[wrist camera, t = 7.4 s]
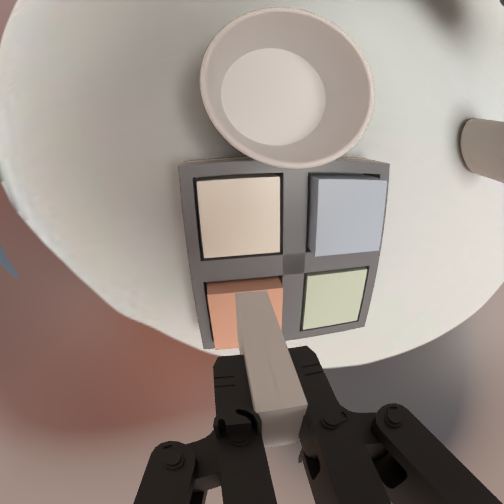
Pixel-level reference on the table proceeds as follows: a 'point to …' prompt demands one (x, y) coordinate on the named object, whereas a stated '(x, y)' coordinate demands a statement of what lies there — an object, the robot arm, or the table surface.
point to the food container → (287, 88)
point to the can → (484, 147)
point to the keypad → (291, 241)
